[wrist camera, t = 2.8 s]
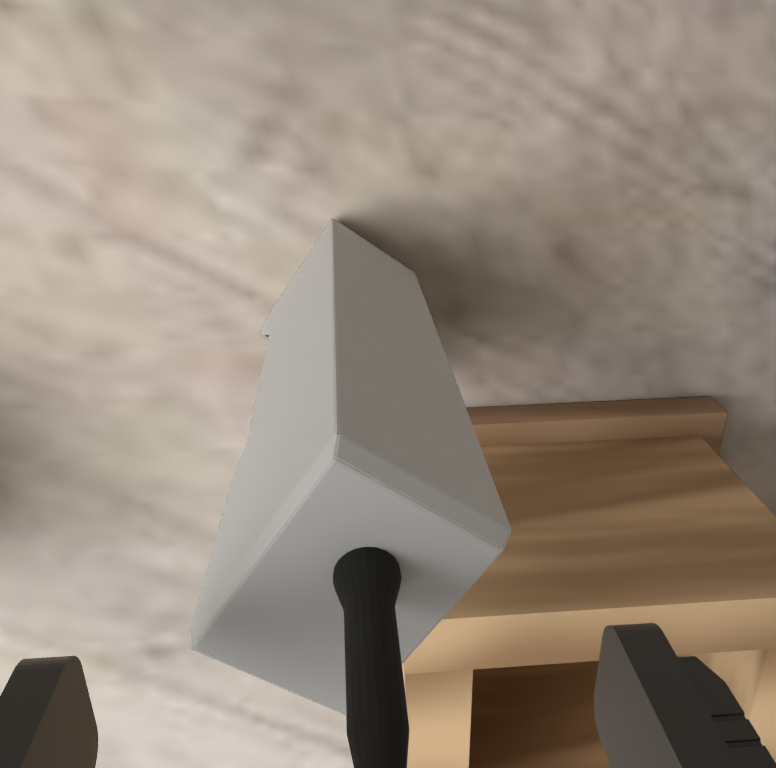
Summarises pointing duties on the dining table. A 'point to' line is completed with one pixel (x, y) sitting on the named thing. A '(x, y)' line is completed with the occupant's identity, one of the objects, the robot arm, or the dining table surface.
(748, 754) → the robot arm
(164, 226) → the dining table surface
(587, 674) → the socket block
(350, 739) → the vintage mobile phone
